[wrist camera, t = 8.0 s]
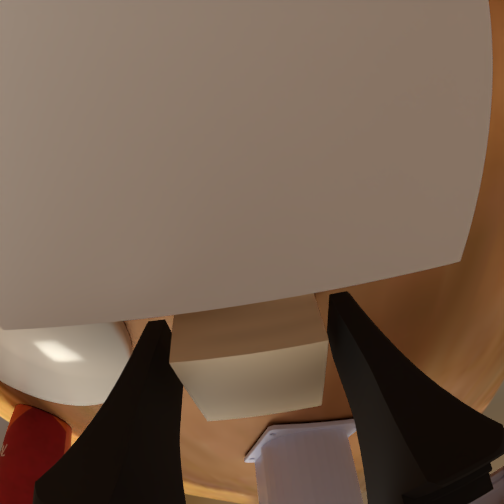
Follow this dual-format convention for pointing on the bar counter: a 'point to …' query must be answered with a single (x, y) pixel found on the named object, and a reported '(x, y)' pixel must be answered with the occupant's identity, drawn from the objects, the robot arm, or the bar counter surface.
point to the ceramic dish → (65, 361)
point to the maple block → (252, 357)
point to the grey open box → (232, 150)
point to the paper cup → (30, 451)
